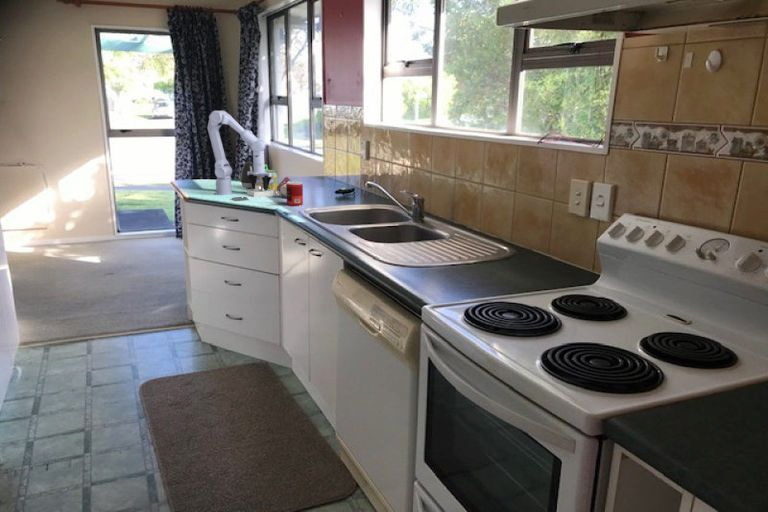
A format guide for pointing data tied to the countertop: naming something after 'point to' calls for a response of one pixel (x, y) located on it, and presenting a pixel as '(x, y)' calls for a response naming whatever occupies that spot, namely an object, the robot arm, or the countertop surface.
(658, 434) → the countertop surface
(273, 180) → the chalk box
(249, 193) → the parts tray
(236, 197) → the socket seat
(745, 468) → the countertop surface
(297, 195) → the canned food
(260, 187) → the silver cylinder copper tab
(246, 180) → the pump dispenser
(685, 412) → the countertop surface
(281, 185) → the brake caliper
